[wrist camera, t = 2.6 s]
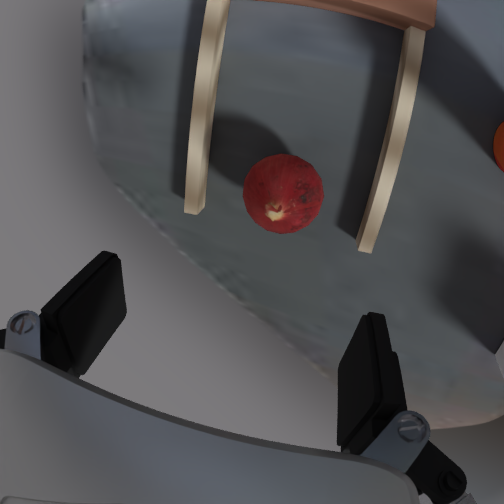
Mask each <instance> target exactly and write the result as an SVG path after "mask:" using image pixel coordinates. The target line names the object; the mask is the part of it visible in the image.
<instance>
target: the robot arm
mask: <svg viewBox="0 0 504 504" xmlns="http://www.w3.org/2000/svg"><path fill="white" fill-rule="evenodd" d="M41 312H42V313H41V314H40V315H39V316H38V314H37V313H35V312H33V311H29V310H26V311H21V312H18V313H16V314H14V315H13V316H12V317H11V318H10V319H9V321H8V323H7V328H6V329H2V330H0V504H477V503H476V501H475V500H474V498H473V496H472V495H471V493H469V494H468V495H467V493H466V492H465V489H466V485H467V480H466V476H465V474H464V472H463V471H462V470H461V468H460V467H458V466H457V465H456V464H455V463H454V462H453V461H451V459H449V458H448V457H447V456H446V455H444V453H443V452H441V451H440V450H439V449H438V448H437V447H436V446H435V445H433V444H432V443H431V442H430V441H429V437H430V426H429V424H428V422H427V420H426V419H425V418H424V417H423V416H422V415H421V414H419V413H417V412H414V411H407V405H406V399H405V393H404V387H403V381H402V375H401V370H400V365H399V360H398V356H397V353H396V352H393V351H392V348H391V343H390V338H389V333H388V328H387V324H386V319H385V316H384V315H383V314H379V313H374V312H369V313H368V314H367V315H363V316H362V317H361V319H360V322H359V324H358V326H357V328H356V330H355V332H354V335H353V337H352V339H351V341H350V343H349V345H348V347H347V349H346V351H345V353H344V355H343V357H342V359H341V361H340V363H339V367H338V419H337V445H338V446H341V452H335V451H329V450H321V449H314V448H308V447H302V446H296V445H290V444H285V443H279V442H273V441H268V440H263V439H258V438H254V437H249V436H244V435H240V434H236V433H232V432H228V431H224V430H220V429H216V428H213V427H209V426H205V425H202V424H198V423H195V422H191V421H188V420H185V419H182V418H178V417H175V416H172V415H169V414H166V413H163V412H160V411H157V410H155V409H151V408H149V407H146V406H143V405H140V404H138V403H135V402H133V401H130V400H127V399H125V398H122V397H120V396H117V395H115V394H113V393H110V392H108V391H106V390H103V389H101V388H99V387H96V386H94V385H92V384H90V383H88V382H85V381H83V380H81V379H79V377H80V375H84V374H85V373H86V372H87V370H88V369H89V367H90V366H91V364H92V363H93V362H94V360H95V359H96V357H97V356H98V355H99V353H100V352H101V350H102V349H103V347H104V346H105V345H106V343H107V342H108V340H109V339H110V338H111V336H112V335H113V333H114V332H115V331H116V329H117V328H118V327H119V325H120V324H121V323H122V321H123V320H124V318H125V316H126V313H127V309H126V302H125V294H124V286H123V277H122V267H121V260H120V259H119V258H118V256H117V254H115V253H111V252H108V251H102V252H101V253H100V254H98V255H97V256H96V257H95V258H94V259H93V260H92V261H91V262H89V264H87V265H86V266H85V267H84V268H83V269H82V270H81V271H80V272H79V273H78V274H77V275H75V276H74V277H73V278H72V279H71V280H70V281H69V282H68V283H67V284H66V285H65V286H64V287H63V288H62V289H61V290H60V291H59V292H58V293H57V294H56V295H55V296H54V297H53V298H52V299H51V300H50V301H49V302H48V303H47V304H46V305H45V306H44V307H43V308H42V309H41Z"/></svg>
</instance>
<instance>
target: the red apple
mask: <svg viewBox="0 0 504 504" xmlns="http://www.w3.org/2000/svg"><path fill="white" fill-rule="evenodd" d="M323 198H324V192H323V186H322V180H321V178H320V176H319V175H318V173H317V172H316V171H315V169H314V168H313V166H312V165H311V164H310V163H308V162H306V161H305V160H303V159H301V158H299V157H298V156H293V155H287V154H277V155H273V156H268V157H265V158H264V159H262V160H261V161H259V162H258V163H256V164H255V165H253V166H252V168H251V170H250V171H249V173H248V174H247V176H246V178H245V181H244V189H243V199H244V202H245V206H246V209H247V212H248V213H249V215H250V216H251V217H252V219H253V220H254V221H255V223H257V224H258V225H260V226H261V227H263V228H264V229H266V230H267V231H271V232H275V233H279V234H284V233H294V232H296V231H298V230H300V229H302V228H304V227H306V226H308V225H309V224H310V223H311V222H312V221H313V219H314V218H315V217H316V216H317V215H318V213H319V210H320V207H321V204H322V201H323Z"/></svg>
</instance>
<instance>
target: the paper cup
mask: <svg viewBox="0 0 504 504" xmlns="http://www.w3.org/2000/svg"><path fill="white" fill-rule="evenodd" d="M493 152H494V157H495V160H496V163H497V165H498V166H499V168H500V169H501V170H502V171H503V172H504V121H503V122H502V123H501V124H500V125H499V127H498V128H497V130H496V132H495V136H494V140H493Z"/></svg>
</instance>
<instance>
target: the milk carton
mask: <svg viewBox="0 0 504 504" xmlns="http://www.w3.org/2000/svg"><path fill="white" fill-rule="evenodd" d="M495 358H496V360H497V363H498V365H499V368H500V370H501V373H502V375H503V378H504V341H503V343H502V344H501V346H500V348H499V349H498V351H497V352H496V354H495Z"/></svg>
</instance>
